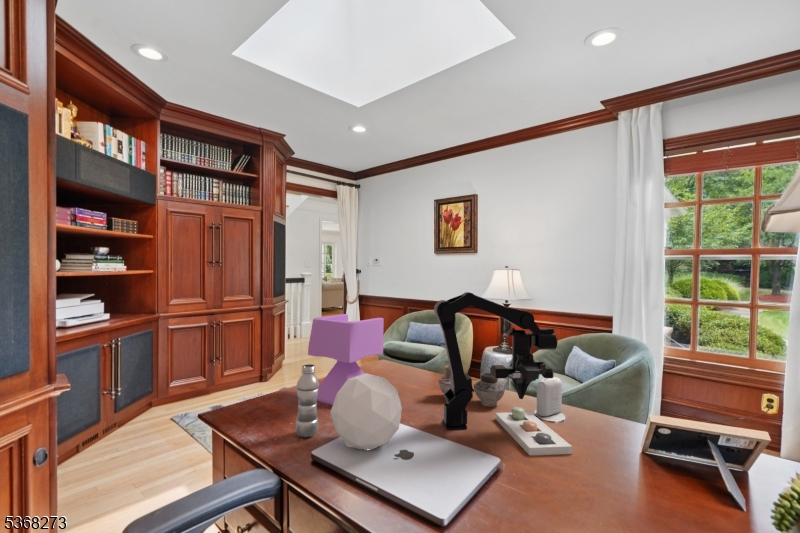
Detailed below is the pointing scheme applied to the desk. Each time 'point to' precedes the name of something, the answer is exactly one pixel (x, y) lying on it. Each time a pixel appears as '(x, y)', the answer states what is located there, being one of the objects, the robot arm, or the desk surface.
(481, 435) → the desk surface
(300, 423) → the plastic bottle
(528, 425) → the terracotta button
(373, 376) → the geometric orb
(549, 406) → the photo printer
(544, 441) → the charcoal button
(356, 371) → the purple table lamp
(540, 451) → the button console
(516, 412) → the sage button
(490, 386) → the pottery
